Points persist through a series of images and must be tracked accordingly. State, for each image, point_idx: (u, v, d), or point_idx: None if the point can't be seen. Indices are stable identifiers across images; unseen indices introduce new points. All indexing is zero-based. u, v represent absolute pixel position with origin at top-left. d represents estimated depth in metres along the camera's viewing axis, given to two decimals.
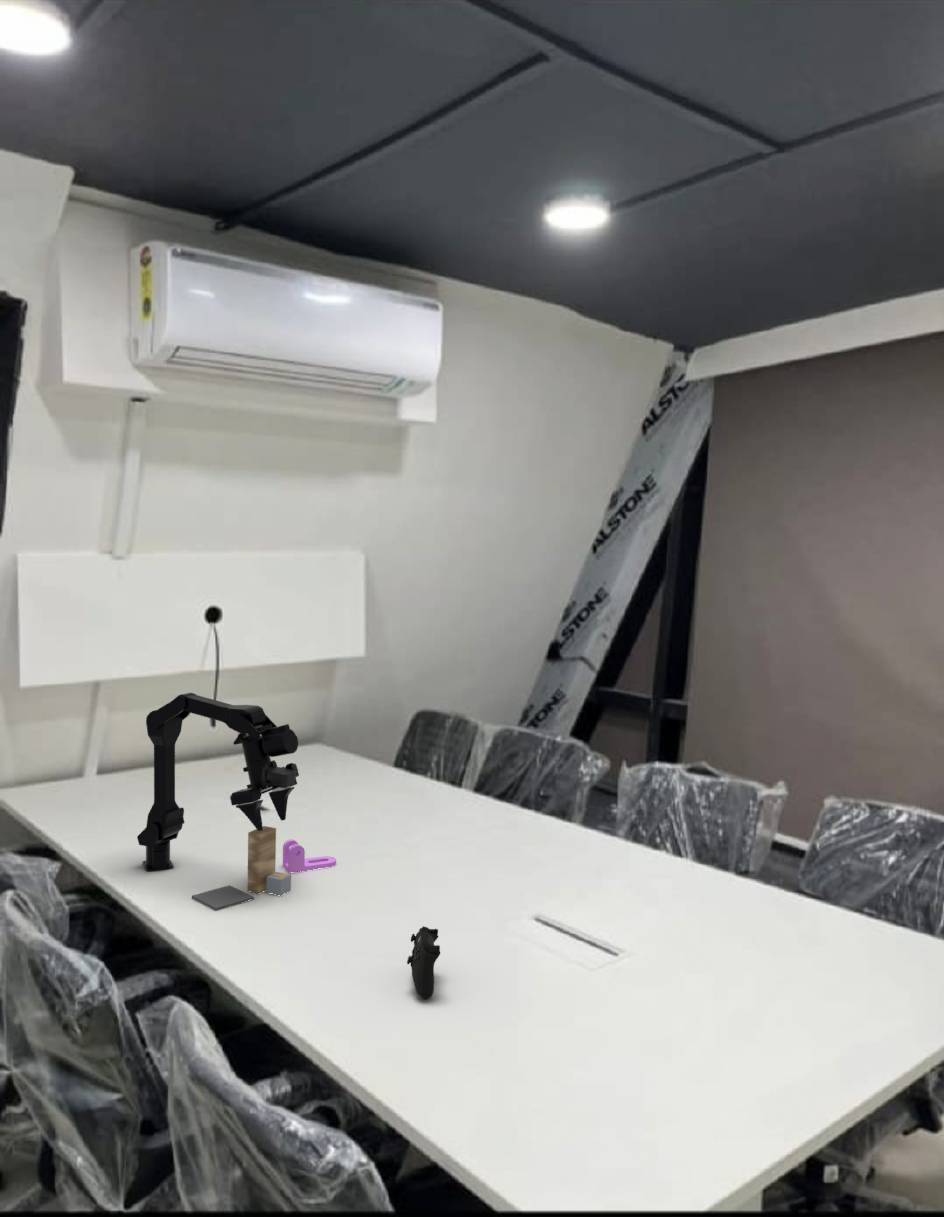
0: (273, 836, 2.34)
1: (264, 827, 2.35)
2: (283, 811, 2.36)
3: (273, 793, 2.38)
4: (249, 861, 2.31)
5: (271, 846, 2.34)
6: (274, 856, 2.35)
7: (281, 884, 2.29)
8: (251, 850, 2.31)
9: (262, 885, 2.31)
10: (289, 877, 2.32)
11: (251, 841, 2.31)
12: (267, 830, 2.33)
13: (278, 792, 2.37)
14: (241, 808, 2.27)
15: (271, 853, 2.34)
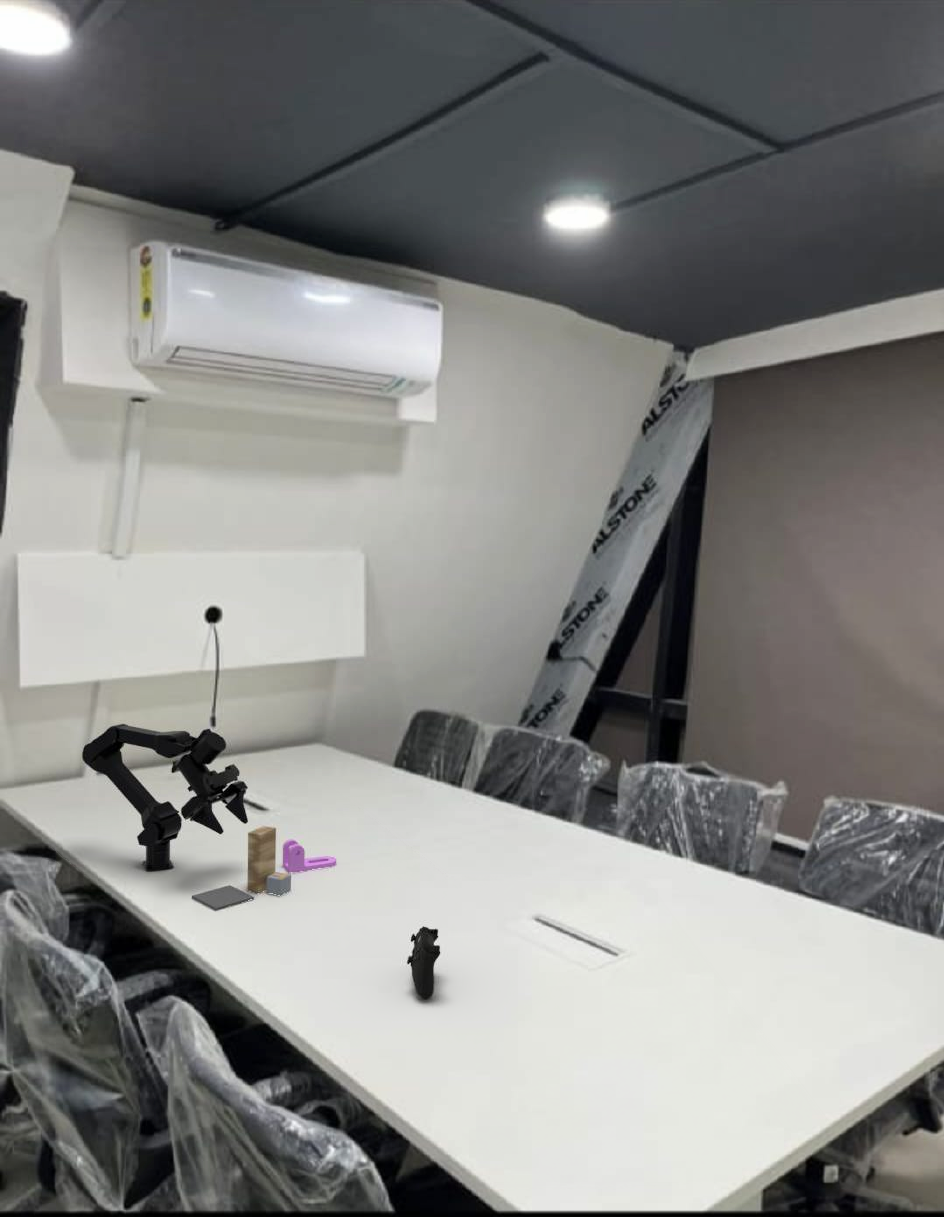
0: (273, 836, 2.34)
1: (264, 827, 2.35)
2: (243, 814, 2.40)
3: (229, 804, 2.43)
4: (249, 861, 2.31)
5: (271, 846, 2.34)
6: (274, 855, 2.35)
7: (281, 884, 2.29)
8: (251, 850, 2.31)
9: (262, 885, 2.31)
10: (289, 877, 2.32)
11: (251, 841, 2.31)
12: (267, 830, 2.33)
13: (232, 800, 2.42)
14: (196, 820, 2.32)
15: (271, 853, 2.34)
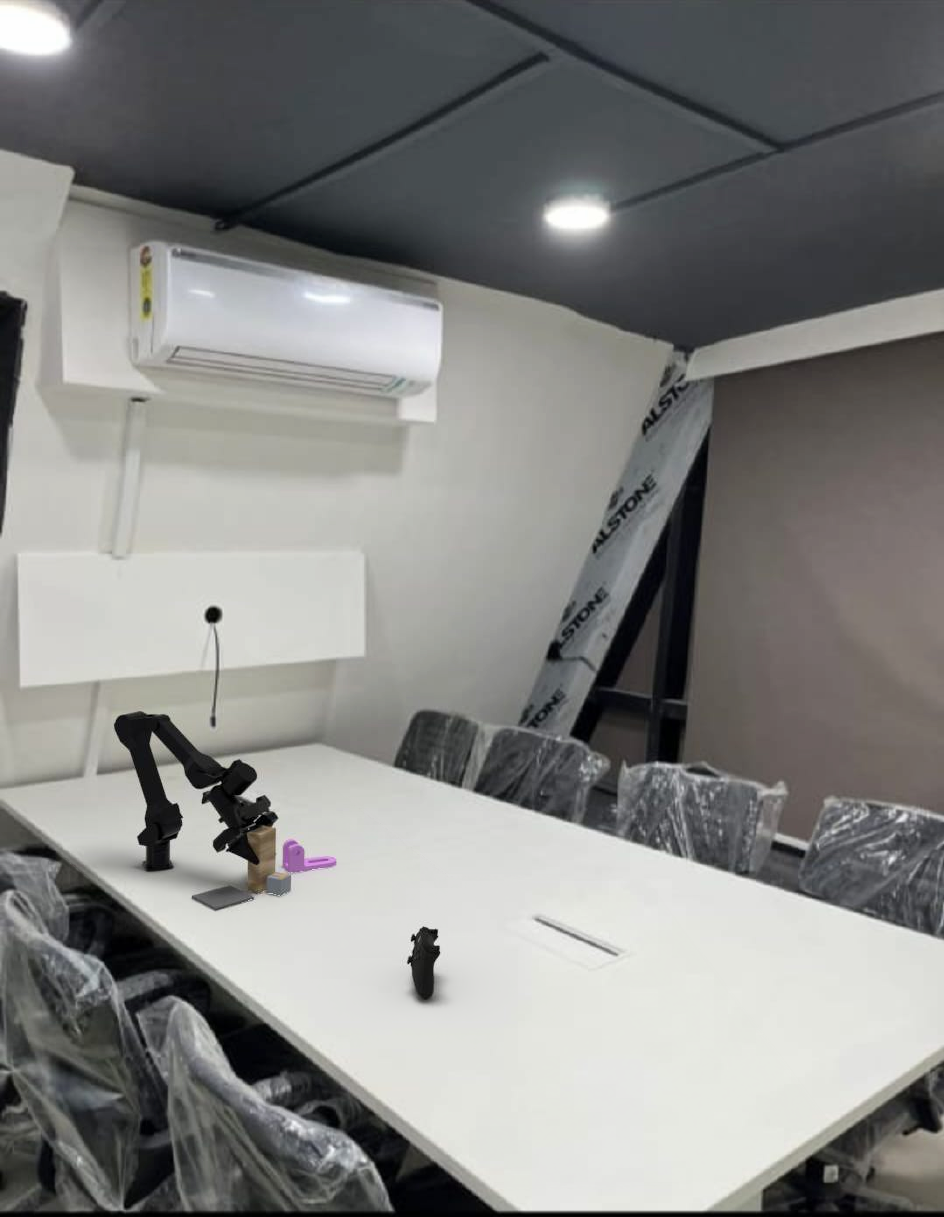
0: (273, 836, 2.34)
1: (264, 827, 2.35)
2: None
3: None
4: None
5: (271, 846, 2.34)
6: (274, 855, 2.35)
7: (281, 884, 2.29)
8: None
9: (262, 885, 2.31)
10: (289, 877, 2.32)
11: (251, 841, 2.31)
12: (267, 830, 2.33)
13: None
14: (232, 851, 2.30)
15: (271, 853, 2.34)
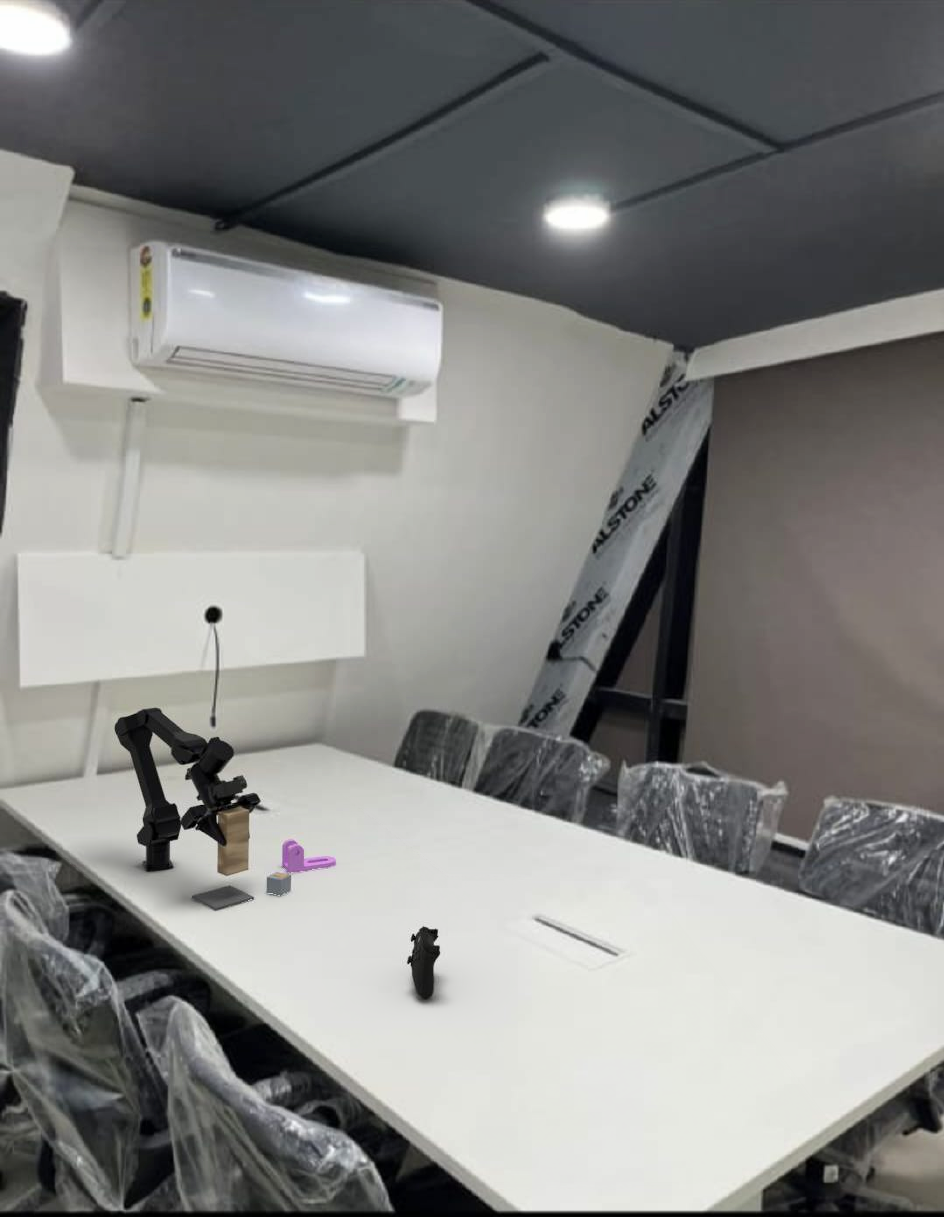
0: (245, 818, 2.27)
1: (238, 808, 2.28)
2: None
3: None
4: None
5: (243, 828, 2.26)
6: (247, 838, 2.27)
7: (281, 884, 2.29)
8: None
9: (230, 867, 2.24)
10: (289, 877, 2.32)
11: (220, 821, 2.24)
12: (238, 811, 2.26)
13: None
14: (202, 830, 2.25)
15: (243, 835, 2.26)
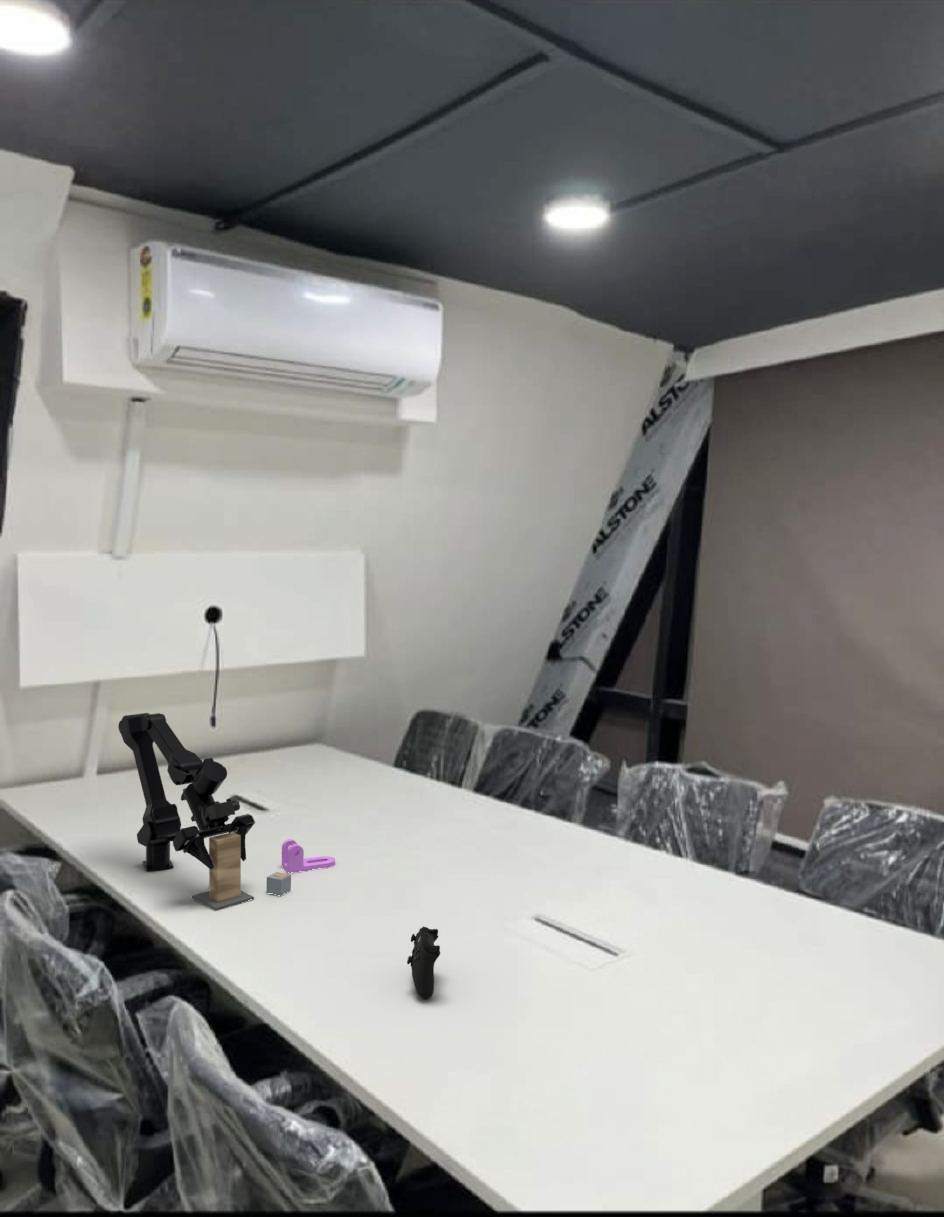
0: (237, 844, 2.26)
1: (230, 833, 2.27)
2: (241, 851, 2.28)
3: None
4: None
5: (234, 854, 2.25)
6: (239, 864, 2.26)
7: (281, 884, 2.29)
8: (211, 856, 2.24)
9: (221, 893, 2.23)
10: (289, 877, 2.32)
11: (211, 847, 2.24)
12: (229, 837, 2.25)
13: None
14: (190, 852, 2.24)
15: (234, 861, 2.25)
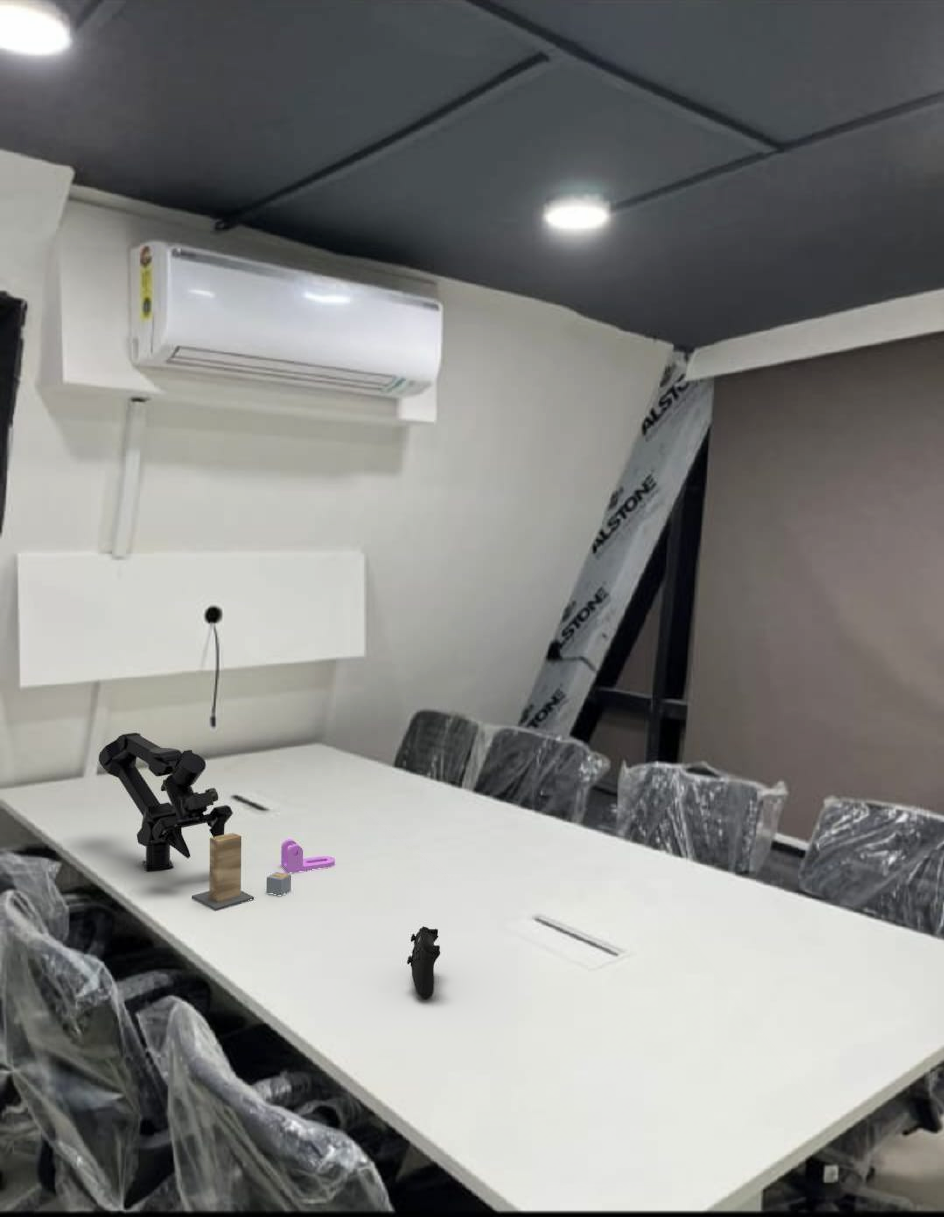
0: (237, 844, 2.26)
1: (231, 834, 2.27)
2: None
3: (212, 828, 2.39)
4: (210, 867, 2.24)
5: (234, 854, 2.25)
6: (239, 864, 2.26)
7: (281, 884, 2.29)
8: (212, 856, 2.24)
9: (221, 894, 2.23)
10: (289, 877, 2.32)
11: (211, 847, 2.24)
12: (230, 837, 2.25)
13: (214, 824, 2.38)
14: (167, 841, 2.30)
15: (234, 862, 2.25)
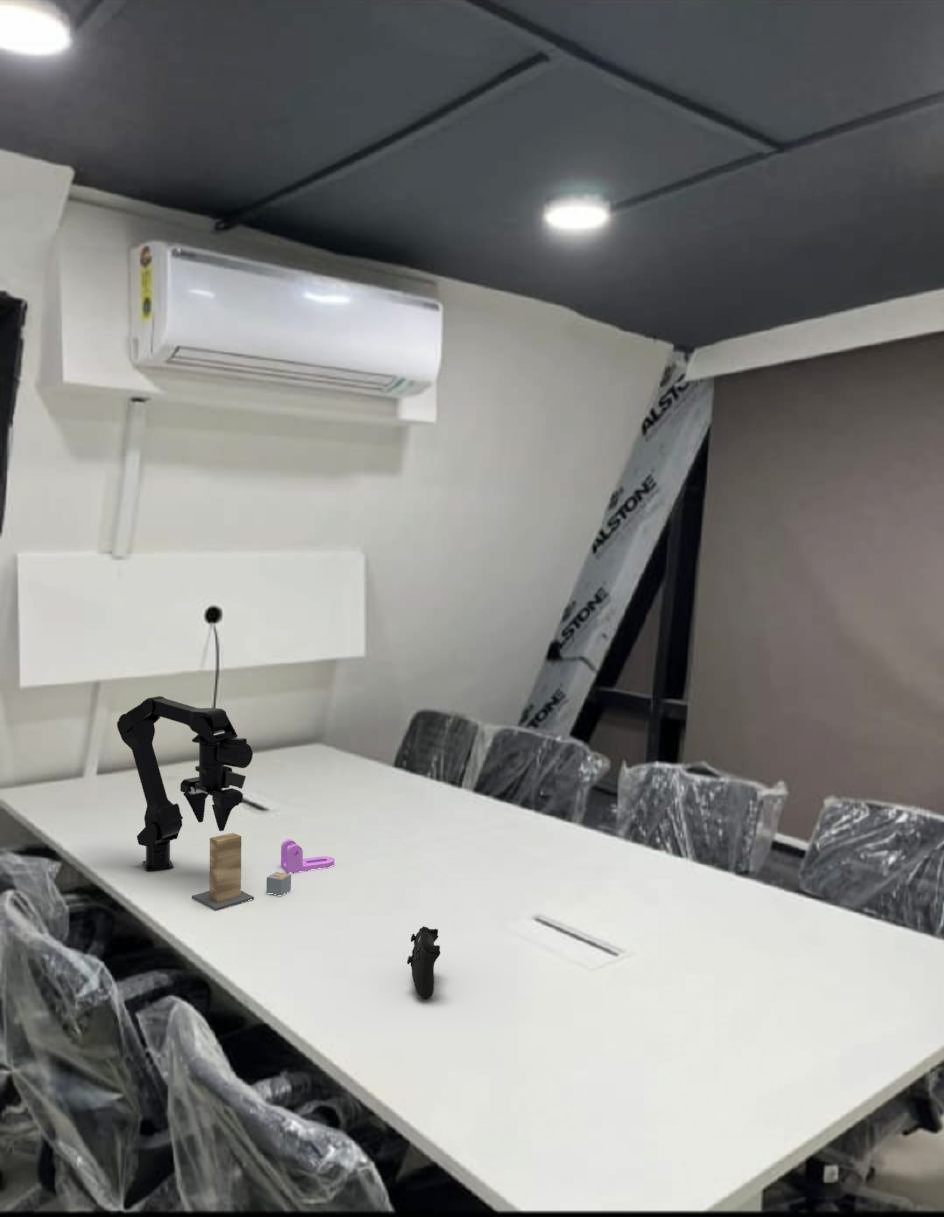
0: (237, 844, 2.26)
1: (231, 834, 2.27)
2: (203, 813, 2.41)
3: (194, 796, 2.40)
4: (210, 867, 2.24)
5: (234, 854, 2.25)
6: (239, 864, 2.26)
7: (282, 884, 2.29)
8: (212, 856, 2.24)
9: (221, 894, 2.23)
10: (289, 877, 2.32)
11: (211, 847, 2.24)
12: (230, 837, 2.25)
13: (199, 795, 2.41)
14: (218, 809, 2.31)
15: (234, 862, 2.25)
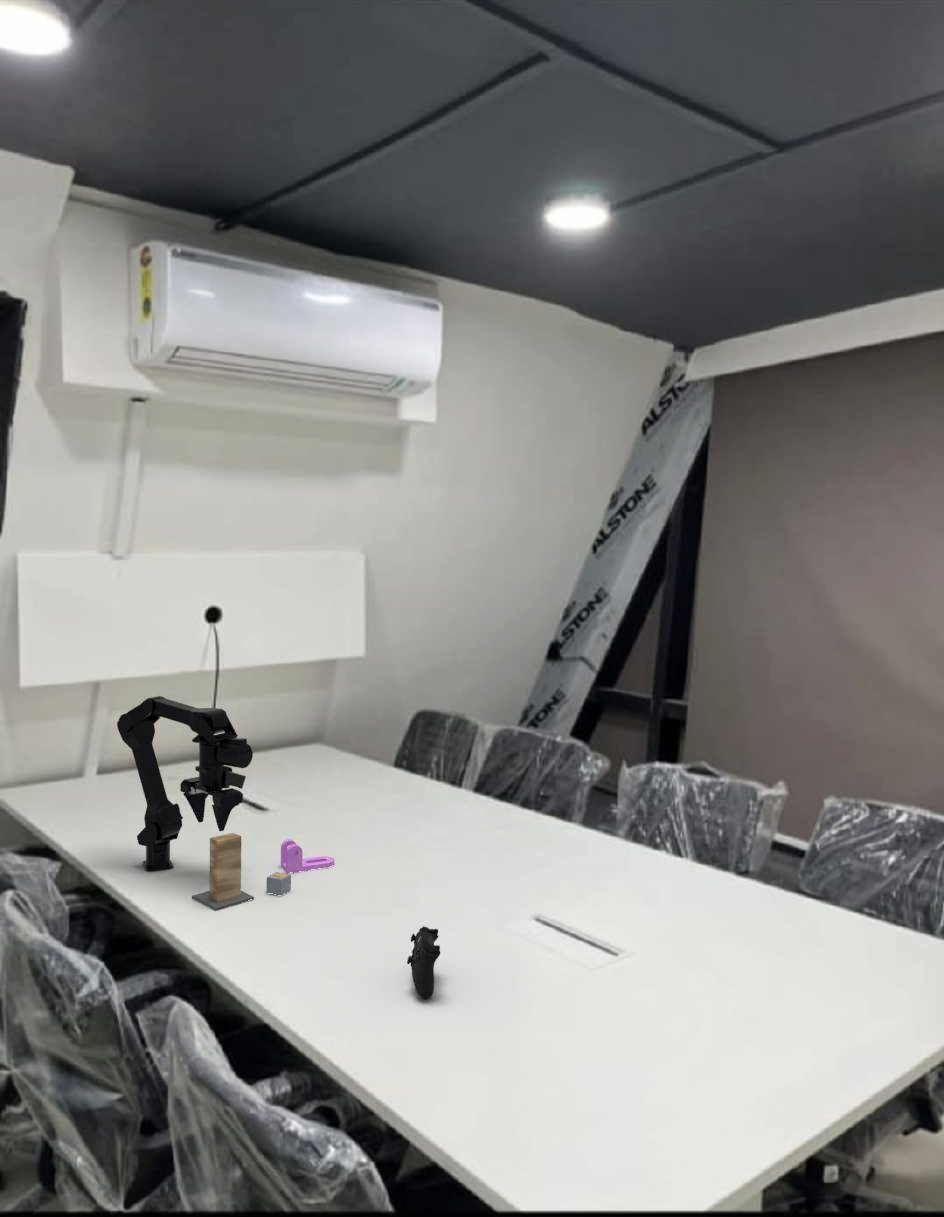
0: (237, 844, 2.26)
1: (231, 834, 2.27)
2: (203, 813, 2.41)
3: (194, 796, 2.40)
4: (210, 867, 2.24)
5: (234, 854, 2.25)
6: (239, 864, 2.26)
7: (282, 884, 2.29)
8: (212, 856, 2.24)
9: (221, 894, 2.23)
10: (289, 877, 2.32)
11: (211, 847, 2.24)
12: (230, 837, 2.25)
13: (199, 795, 2.41)
14: (218, 809, 2.31)
15: (234, 862, 2.25)
